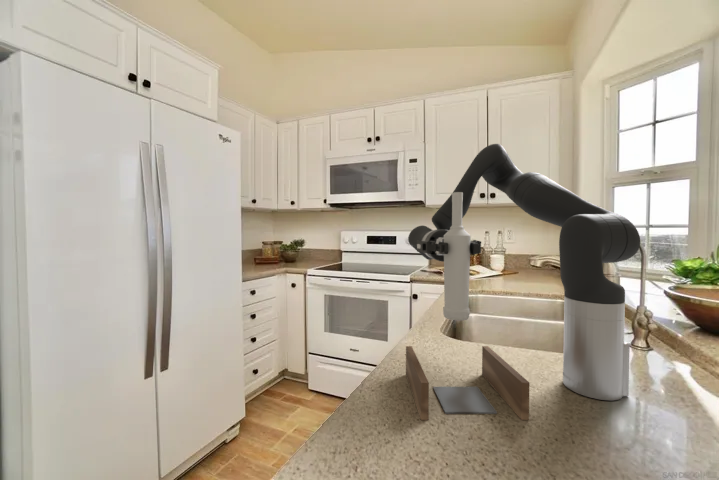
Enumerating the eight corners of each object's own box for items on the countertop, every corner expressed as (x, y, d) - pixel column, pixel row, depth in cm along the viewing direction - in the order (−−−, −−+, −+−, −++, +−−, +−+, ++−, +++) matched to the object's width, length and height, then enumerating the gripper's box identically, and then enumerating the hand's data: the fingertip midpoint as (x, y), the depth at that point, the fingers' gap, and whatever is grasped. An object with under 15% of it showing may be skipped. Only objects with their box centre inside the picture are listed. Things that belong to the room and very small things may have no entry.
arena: (487, 374, 66) (488, 346, 66) (528, 419, 50) (529, 382, 50) (405, 374, 66) (406, 346, 66) (421, 420, 50) (421, 382, 50)
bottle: (471, 321, 60) (472, 190, 60) (443, 319, 62) (444, 191, 61) (468, 314, 66) (469, 193, 65) (442, 313, 67) (443, 194, 66)
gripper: (410, 229, 77) (424, 228, 60) (468, 229, 77) (499, 228, 60) (409, 260, 78) (423, 268, 61) (468, 260, 78) (498, 268, 61)
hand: (461, 248), depth 61 cm, fingers closed on bottle, 5 cm apart
